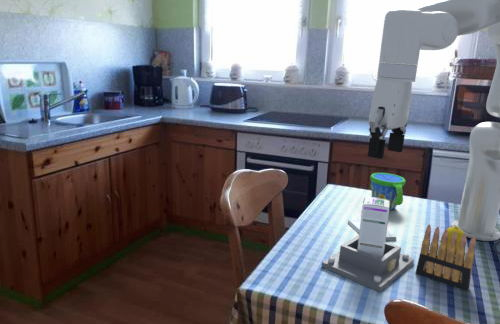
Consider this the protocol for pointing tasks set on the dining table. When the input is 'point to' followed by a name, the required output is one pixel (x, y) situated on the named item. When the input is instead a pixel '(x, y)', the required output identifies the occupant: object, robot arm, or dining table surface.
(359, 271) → the frame
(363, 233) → the syrup box
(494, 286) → the dining table surface
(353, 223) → the hard drive
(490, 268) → the dining table surface
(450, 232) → the lemon
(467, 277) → the ammunition clip
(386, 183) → the snack cup
